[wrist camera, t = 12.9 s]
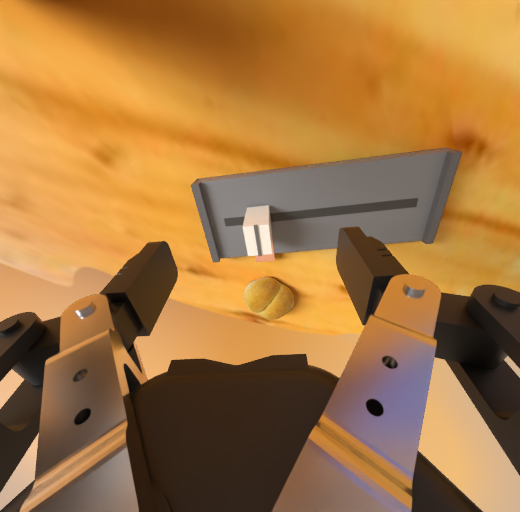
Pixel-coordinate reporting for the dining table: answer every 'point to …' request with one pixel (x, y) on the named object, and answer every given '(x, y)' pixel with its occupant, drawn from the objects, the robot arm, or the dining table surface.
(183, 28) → the dining table surface
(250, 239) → the fader cap
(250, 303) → the bread roll
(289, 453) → the robot arm
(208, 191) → the fader board
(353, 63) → the dining table surface
